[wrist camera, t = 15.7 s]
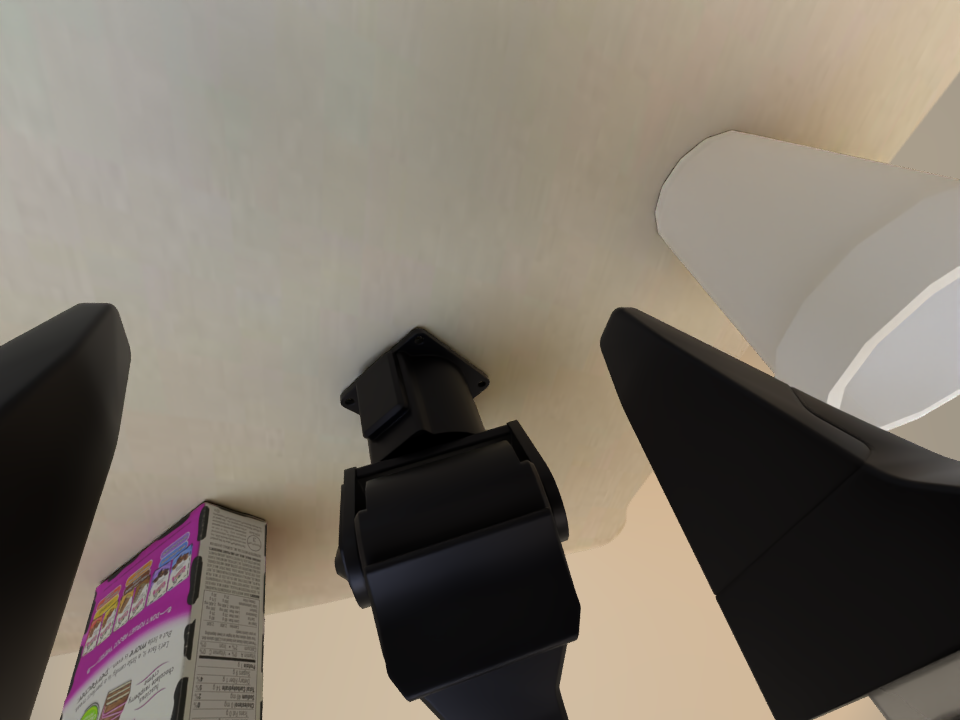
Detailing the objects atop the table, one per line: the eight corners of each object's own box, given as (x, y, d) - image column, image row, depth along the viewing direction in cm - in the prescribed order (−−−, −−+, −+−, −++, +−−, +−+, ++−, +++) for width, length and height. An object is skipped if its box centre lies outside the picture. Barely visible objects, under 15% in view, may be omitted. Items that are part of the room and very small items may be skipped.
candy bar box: (169, 597, 35) (107, 932, 23) (95, 584, 31) (-22, 969, 20) (274, 519, 32) (264, 849, 21) (205, 497, 29) (147, 876, 17)
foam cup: (815, 70, 22) (1190, 167, 13) (768, 241, 29) (997, 387, 19) (629, 131, 22) (885, 278, 12) (625, 292, 28) (791, 468, 19)
